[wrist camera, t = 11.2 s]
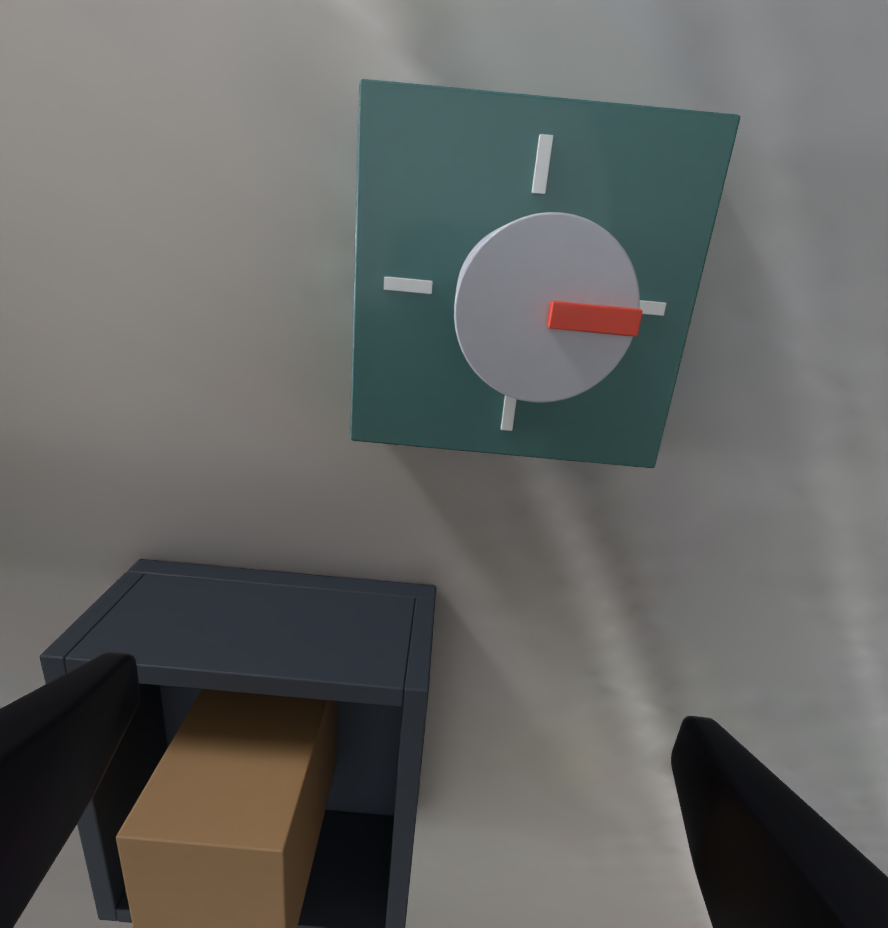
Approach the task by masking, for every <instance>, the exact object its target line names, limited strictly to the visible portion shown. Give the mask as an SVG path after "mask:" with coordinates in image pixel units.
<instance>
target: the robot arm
mask: <svg viewBox="0 0 888 928" xmlns="http://www.w3.org/2000/svg"><path fill="white" fill-rule="evenodd" d="M139 699H140V687H139V679H138V671H137V664H136V659H135V657H134V656H133V655H131V654H129V653H119V652H106V653H103V654H101V655H99V656H97V657H96V658H94V659H92V660H90V661H88V662H86V663H84V664H83V665H81V666H79V667H77V668H75V669H73V670H72V671H70V672H68V673H66V674H64V675H62V676H60V677H59V678H57V679H55V680H53V681H51V682H49V683H47V684H46V685H44V686H42V687H40V688H38V689H36V690H35V691H33V692H31V693H29V694H27V695H25V696H23V697H22V698H20V699H18V700H16V701H14V702H12V703H11V704H9V705H7V706H5V707H3V708H1V709H0V928H13V927H14V925H15V924H16V922H17V921H18V919H19V917H20V916H21V914H22V912H23V911H24V909H25V908H26V906H27V904H28V903H29V901H30V899H31V898H32V896H33V895H34V893H35V891H36V890H37V888H38V886H39V885H40V883H41V882H42V880H43V878H44V877H45V875H46V873H47V872H48V870H49V869H50V867H51V865H52V864H53V862H54V860H55V859H56V857H57V856H58V854H59V852H60V851H61V849H62V847H63V846H64V844H65V843H66V841H67V839H68V838H69V836H70V834H71V833H72V831H73V830H74V828H75V826H76V825H77V823H78V821H79V820H80V818H81V816H82V815H83V813H84V811H85V810H86V808H87V806H88V805H89V803H90V801H91V799H92V797H93V795H94V793H95V791H96V790H97V788H98V786H99V784H100V782H101V780H102V778H103V776H104V773H105V771H106V769H107V767H108V765H109V763H110V761H111V759H112V757H113V755H114V753H115V751H116V749H117V747H118V745H119V743H120V741H121V739H122V737H123V735H124V733H125V731H126V729H127V727H128V725H129V723H130V721H131V719H132V717H133V715H134V713H135V711H136V708H137V706H138V703H139ZM671 765H672V771H673V775H674V780H675V784H676V789H677V794H678V798H679V803H680V807H681V812H682V816H683V821H684V825H685V830H686V834H687V839H688V843H689V848H690V853H691V857H692V861H693V865H694V869H695V872H696V876H697V879H698V882H699V886H700V889H701V892H702V895H703V898H704V901H705V905H706V908H707V911H708V914H709V917H710V920H711V923H712V926H713V928H888V877H887V876H886V875H885V874H884V873H883V872H882V871H881V870H880V869H878V868H877V867H876V866H875V865H874V864H873V863H872V862H871V861H870V860H868V859H867V858H866V857H865V856H864V855H863V854H862V853H861V852H860V851H859V850H857V849H856V848H855V847H854V846H853V845H852V844H851V843H850V842H849V841H847V840H846V839H845V838H844V837H843V836H842V835H841V834H840V833H839V832H838V831H836V830H835V829H834V828H833V827H832V826H831V825H830V824H829V823H828V822H826V821H825V820H824V819H823V818H822V817H821V816H820V815H819V814H818V813H817V812H815V811H814V810H813V809H812V808H811V807H810V806H809V805H808V804H807V803H805V802H804V801H803V800H802V799H801V798H800V797H799V796H798V795H797V794H796V793H794V792H793V791H792V790H791V789H790V788H789V787H788V786H787V785H786V784H784V783H783V782H782V781H781V780H780V779H779V778H778V777H777V776H776V775H775V774H773V773H772V772H771V771H770V770H769V769H768V768H767V767H766V766H765V765H763V764H762V763H761V762H760V761H759V760H758V759H757V758H756V757H755V756H754V755H752V754H751V753H750V752H749V751H748V750H747V749H746V748H745V747H744V746H742V745H741V744H740V743H739V742H738V741H737V740H736V739H735V738H734V737H732V736H731V735H730V734H729V733H728V732H727V731H726V730H725V729H724V728H723V727H721V726H720V725H719V724H718V723H717V722H716V721H714V720H713V719H711V718H706V717H697V716H687V717H685V718H684V719H683V721H682V724H681V727H680V730H679V732H678V735H677V738H676V741H675V744H674V747H673V750H672V755H671Z"/></svg>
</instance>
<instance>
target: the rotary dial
mask: <svg viewBox="0 0 888 928" xmlns="http://www.w3.org/2000/svg"><path fill="white" fill-rule="evenodd" d="M739 121H740V116H739V115H735V114H725V113H714V112H704V111H694V110H683V109H673V108H662V107H652V106H641V105H631V104H620V103H610V102H599V101H589V100H578V99H568V98H557V97H547V96H537V95H526V94H516V93H505V92H495V91H484V90H474V89H463V88H453V87H442V86H432V85H421V84H411V83H400V82H390V81H380V80H369V79H362V80H360V85H359V123H358V161H357V199H356V236H355V274H354V312H353V350H352V387H351V425H350V439H351V440H353V441H363V442H373V443H384V444H395V445H406V446H417V447H428V448H439V449H450V450H460V451H471V452H482V453H493V454H504V455H515V456H526V457H537V458H547V459H558V460H569V461H580V462H591V463H602V464H613V465H624V466H634V467H645V468H654V467H655V464H656V460H657V456H658V452H659V448H660V443H661V439H662V435H663V431H664V427H665V423H666V419H667V415H668V411H669V407H670V403H671V399H672V395H673V390H674V386H675V382H676V378H677V374H678V370H679V366H680V362H681V358H682V354H683V350H684V346H685V341H686V337H687V333H688V329H689V325H690V321H691V317H692V313H693V309H694V305H695V301H696V297H697V292H698V288H699V284H700V280H701V276H702V272H703V268H704V264H705V260H706V256H707V252H708V248H709V243H710V239H711V235H712V231H713V227H714V223H715V219H716V215H717V211H718V207H719V203H720V199H721V194H722V190H723V186H724V182H725V178H726V174H727V170H728V166H729V162H730V158H731V154H732V150H733V145H734V141H735V137H736V133H737V129H738V125H739ZM546 212H561V213H567V214H573V215H577V216H580V217H583V218H586V219H588V220H590V221H592V222H594V223H596V224H598V225H599V226H601V227H602V228H604V229H605V230H606V231H608V232H609V233H610V234H611V235H612V236H613V237H614V238H615V239H616V240H617V241H618V242H619V244H620V245H621V246H622V247H623V249H624V250H625V252H626V253H627V255H628V257H629V259H630V260H631V263H632V265H633V268H634V270H635V273H636V277H637V281H638V286H639V294H640V309H641V310H643V313H642V318H641V323H640V327H639V332H638V336H636V337H634V336H633V338H632V341H631V343H630V346H629V347H628V349H627V351H626V353H625V354H624V356H623V358H622V359H621V360H620V362H619V363H618V364H617V366H616V367H615V368H614V369H613V370H612V371H611V372H610V373H609V374H608V375H607V376H606V377H605V378H604V379H603V380H602V381H600V382H599V383H598V384H596V385H595V386H593V387H592V388H590V389H589V390H587V391H585V392H583V393H581V394H579V395H576V396H574V397H571V398H568V399H564V400H560V401H555V402H545V403H541V402H528V401H522V400H518V399H515V398H511V397H509V396H507V395H504V394H502V393H500V392H498V391H497V390H495V389H493V388H492V387H490V386H489V385H488V384H487V383H485V382H484V381H483V380H482V379H481V378H480V377H479V376H478V375H477V374H476V373H475V372H474V370H473V369H472V368H471V366H470V365H469V363H468V362H467V360H466V358H465V356H464V354H463V353H462V350H461V347H460V345H459V342H458V339H457V334H456V330H455V321H454V304H455V295H456V287H457V281H458V277H459V274H460V270H461V268H462V266H463V263H464V261H465V260H466V258H467V256H468V255H469V253H470V252H471V251H472V249H473V248H474V247H475V246H476V245H477V244H478V243H479V242H480V241H481V240H482V239H483V238H484V237H485V236H487V235H488V234H489V233H491V232H493V231H494V230H496V229H498V228H500V227H502V226H504V225H506V224H508V223H510V222H512V221H515V220H517V219H520V218H522V217H525V216H529V215H533V214H538V213H546Z"/></svg>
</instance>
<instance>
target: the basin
mask: <svg viewBox="0 0 888 928" xmlns="http://www.w3.org/2000/svg"><path fill="white" fill-rule="evenodd" d="M435 596H436V587H435V586H429V585H418V584H407V583H396V582H385V581H374V580H363V579H352V578H341V577H330V576H319V575H308V574H297V573H286V572H275V571H264V570H253V569H242V568H230V567H219V566H208V565H197V564H186V563H175V562H164V561H153V560H142V559H140V560H138V561H137V562H136V563H135V564H134V565H133V566H132V567H131V568H130V569H129V570H128V571H127V572H126V573H125V574H124V575H123V576H121V577H120V578H119V579H118V580H117V581H116V582H115V583H114V584H113V585H112V586H111V587H110V588H109V589H108V590H107V591H106V592H105V593H104V594H103V595H102V596H101V597H100V598H99V599H98V600H97V601H96V602H95V603H94V604H93V605H92V606H91V607H90V608H89V609H88V610H87V611H85V612H84V613H83V614H82V615H81V616H80V617H79V618H78V619H77V620H76V621H75V622H74V623H73V624H72V625H71V626H70V627H69V628H68V629H67V630H66V631H65V632H64V633H63V634H62V635H61V636H60V637H59V638H58V639H57V640H56V641H55V642H54V643H53V644H52V645H51V646H49V647H48V648H47V649H46V650H45V651H44V652H43V653H42V654H41V655H40V661H41V665H42V670H43V674H44V679H45V683H46V684H47V683H49V682H51V681H53V680H55V679H57V678H59V677H60V676H62V675H64V674H66V673H68V672H70V671H72V670H73V669H75V668H77V667H79V666H81V665H83V664H84V663H86V662H88V661H90V660H92V659H94V658H96V657H97V656H99V655H101V654H103V653H106V652H119V653H129V654H131V655H133V656H134V657H135V659H136V664H137V671H138V679H139V687H140V699H139V703H138V706H137V708H136V711H135V713H134V715H133V717H132V719H131V721H130V723H129V725H128V727H127V729H126V731H125V733H124V735H123V737H122V739H121V741H120V743H119V745H118V747H117V749H116V751H115V753H114V755H113V757H112V759H111V761H110V763H109V765H108V767H107V769H106V771H105V773H104V776H103V778H102V780H101V782H100V784H99V786H98V788H97V790H96V791H95V793H94V795H93V797H92V799H91V801H90V803H89V805H88V806H87V808H86V810H85V811H84V813H83V815H82V816H81V818H80V820H79V821H78V823H77V825H78V829H79V834H80V838H81V842H82V847H83V851H84V856H85V860H86V865H87V869H88V873H89V878H90V882H91V887H92V891H93V896H94V900H95V904H96V909H97V913H98V918H99V919H100V920H110V921H117V920H118V921H119V922H130V923H132V919H131V913H130V908H129V903H128V898H127V893H126V887H125V882H124V877H123V872H122V867H121V861H120V856H119V851H118V846H117V841H116V836H117V834H118V832H119V831H120V829H121V827H122V826H123V824H124V822H125V820H126V819H127V817H128V815H129V814H130V812H131V810H132V808H133V807H134V805H135V803H136V802H137V800H138V798H139V796H140V795H141V793H142V791H143V790H144V788H145V786H146V784H147V783H148V781H149V779H150V778H151V776H152V774H153V772H154V771H155V769H156V767H157V766H158V764H159V762H160V761H161V759H162V757H163V755H164V754H165V752H166V750H167V749H168V747H169V745H170V743H171V742H172V740H173V738H174V737H175V735H176V733H177V731H178V730H179V728H180V726H181V725H182V723H183V721H184V719H185V718H186V716H187V714H188V713H189V711H190V709H191V707H192V706H193V704H194V702H195V701H196V699H197V697H198V696H199V694H200V692H201V690H202V689H208V690H219V691H230V692H242V693H253V694H264V695H275V696H286V697H298V698H309V699H320V700H331V701H338V706H337V754H336V768H335V772H334V776H333V780H332V784H331V789H330V793H329V797H328V801H327V805H326V809H325V813H324V818H323V822H322V826H321V830H320V834H319V838H318V843H317V847H316V851H315V855H314V859H313V863H312V867H311V872H310V876H309V880H308V884H307V888H306V892H305V897H304V901H303V905H302V909H301V913H300V917H299V922H298V926H297V928H405V924H406V914H407V904H408V894H409V884H410V874H411V864H412V854H413V844H414V833H415V823H416V813H417V803H418V793H419V783H420V773H421V763H422V753H423V743H424V733H425V722H426V712H427V702H428V692H429V679H430V665H431V651H432V638H433V624H434V610H435Z"/></svg>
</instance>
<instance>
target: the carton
mask: <svg viewBox="0 0 888 928" xmlns="http://www.w3.org/2000/svg"><path fill="white" fill-rule="evenodd" d="M337 706H338V701H331V700H320V699H309V698H298V697H286V696H275V695H264V694H253V693H242V692H230V691H219V690H208V689H202V690H201V692H200V694H199V696H198V697H197V699H196V701H195V702H194V704H193V706H192V707H191V709H190V711H189V713H188V714H187V716H186V718H185V719H184V721H183V723H182V725H181V726H180V728H179V730H178V731H177V733H176V735H175V737H174V738H173V740H172V742H171V743H170V745H169V747H168V749H167V750H166V752H165V754H164V755H163V757H162V759H161V761H160V762H159V764H158V766H157V767H156V769H155V771H154V772H153V774H152V776H151V778H150V779H149V781H148V783H147V784H146V786H145V788H144V790H143V791H142V793H141V795H140V796H139V798H138V800H137V802H136V803H135V805H134V807H133V808H132V810H131V812H130V814H129V815H128V817H127V819H126V820H125V822H124V824H123V826H122V827H121V829H120V831H119V832H118V834H117V836H116V841H117V846H118V851H119V856H120V861H121V867H122V872H123V877H124V882H125V887H126V893H127V898H128V903H129V908H130V913H131V919H132V924H133V928H297V926H298V922H299V917H300V913H301V909H302V905H303V901H304V897H305V892H306V888H307V884H308V880H309V876H310V872H311V867H312V863H313V859H314V855H315V851H316V847H317V843H318V838H319V834H320V830H321V826H322V822H323V818H324V813H325V809H326V805H327V801H328V797H329V793H330V789H331V784H332V780H333V776H334V772H335V768H336V754H337Z"/></svg>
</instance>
